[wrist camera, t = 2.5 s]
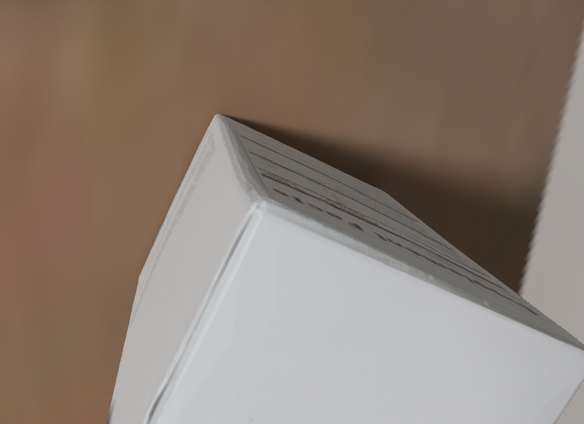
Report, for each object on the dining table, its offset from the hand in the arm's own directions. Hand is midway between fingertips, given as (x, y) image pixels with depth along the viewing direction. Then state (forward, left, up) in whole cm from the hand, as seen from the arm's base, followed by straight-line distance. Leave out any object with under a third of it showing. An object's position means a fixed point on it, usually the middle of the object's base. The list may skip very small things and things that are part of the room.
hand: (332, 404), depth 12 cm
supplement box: (0, 0, -11) cm, 11 cm away
